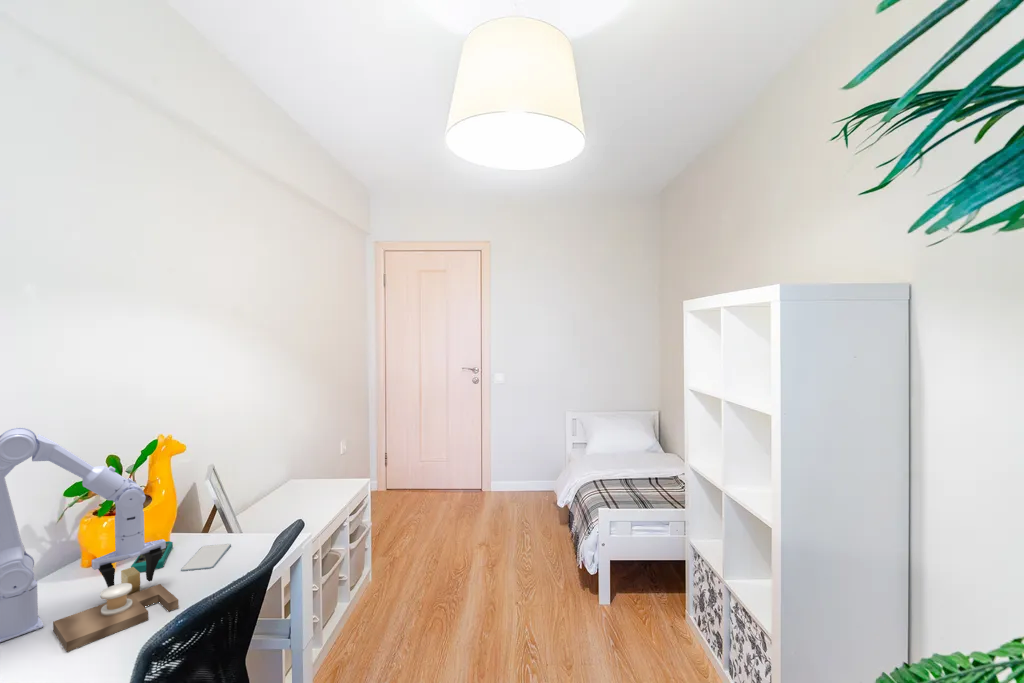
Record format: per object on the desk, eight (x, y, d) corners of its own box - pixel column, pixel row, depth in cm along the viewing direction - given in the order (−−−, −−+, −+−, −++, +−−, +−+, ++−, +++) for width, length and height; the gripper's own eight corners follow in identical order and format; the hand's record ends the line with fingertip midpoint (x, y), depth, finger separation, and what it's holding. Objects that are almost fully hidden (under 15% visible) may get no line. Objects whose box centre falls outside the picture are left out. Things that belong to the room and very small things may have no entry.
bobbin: (105, 618, 108) (104, 598, 108) (97, 610, 112) (97, 590, 111) (135, 607, 113) (135, 588, 113) (127, 599, 116) (127, 580, 116)
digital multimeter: (129, 576, 132) (129, 565, 132) (143, 553, 145) (143, 543, 145) (162, 570, 135) (162, 560, 135) (173, 548, 149) (173, 539, 149)
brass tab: (127, 600, 119) (127, 576, 119) (121, 594, 122) (121, 570, 122) (140, 596, 121) (139, 572, 121) (133, 590, 124) (133, 566, 124)
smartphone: (179, 570, 134) (201, 545, 148) (179, 573, 134) (202, 549, 148) (213, 567, 135) (231, 543, 150) (213, 570, 135) (232, 546, 150)
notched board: (66, 652, 100) (66, 642, 100) (53, 630, 107) (53, 621, 107) (178, 607, 116) (178, 599, 116) (160, 591, 123) (160, 583, 123)
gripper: (97, 547, 113) (98, 604, 113) (169, 526, 125) (170, 579, 125) (88, 539, 117) (90, 594, 118) (159, 520, 129) (160, 571, 129)
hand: (131, 586), depth 122 cm, fingers open, 7 cm apart
